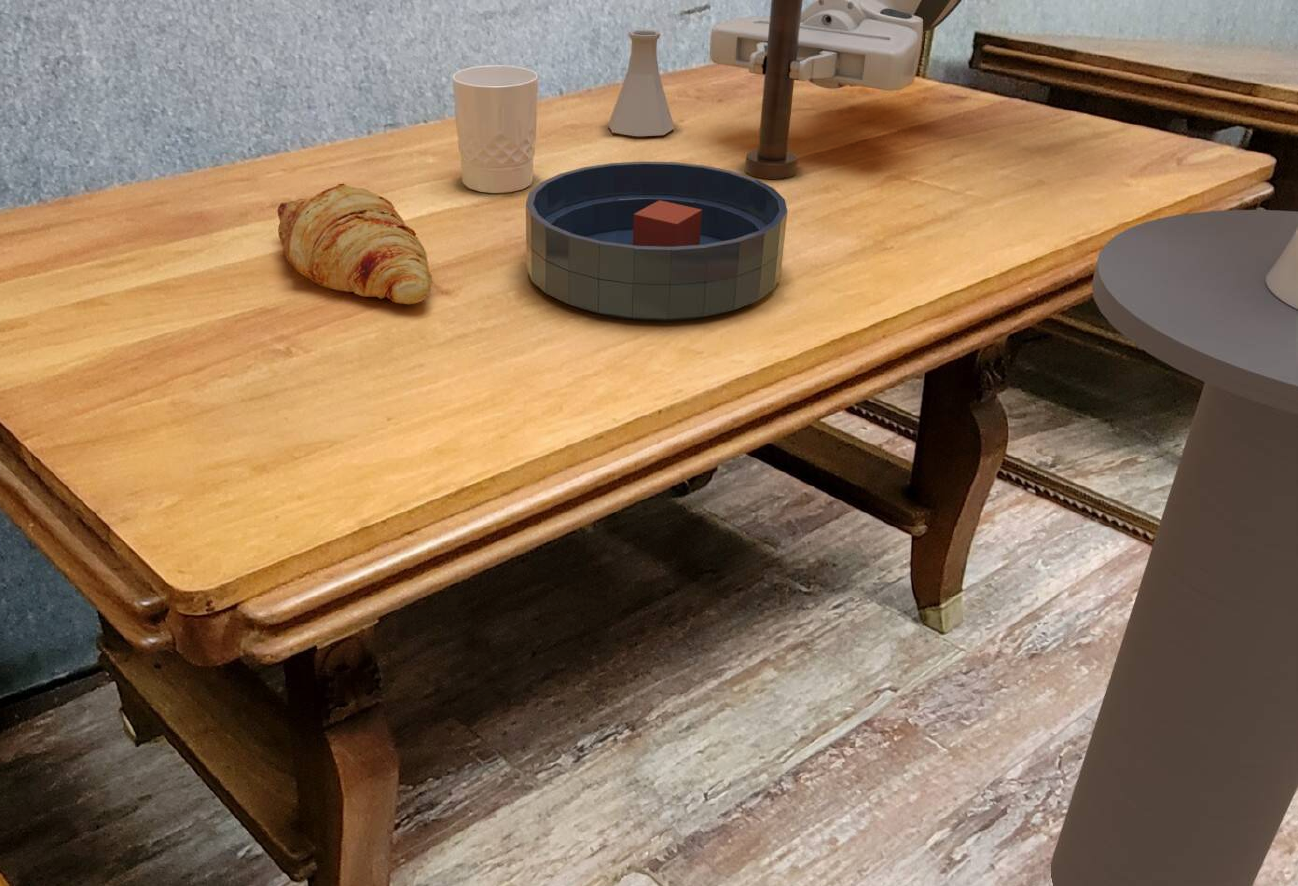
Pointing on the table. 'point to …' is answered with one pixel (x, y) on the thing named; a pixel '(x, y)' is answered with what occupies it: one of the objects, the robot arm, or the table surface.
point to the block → (667, 225)
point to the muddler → (777, 95)
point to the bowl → (652, 277)
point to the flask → (642, 91)
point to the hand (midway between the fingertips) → (776, 68)
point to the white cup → (496, 126)
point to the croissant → (355, 245)
